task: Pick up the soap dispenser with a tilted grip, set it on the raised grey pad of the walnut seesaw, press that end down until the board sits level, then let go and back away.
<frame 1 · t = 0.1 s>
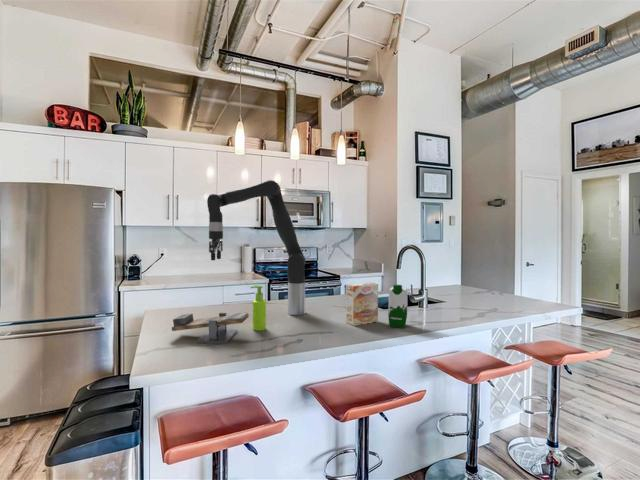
hand: (216, 259, 192), 29 cm above the countertop, fingers open, 8 cm apart
seesaw stand: (218, 337, 148), on the countertop
seesaw board: (210, 318, 148), point 8 cm above the countertop, hinge at 8.0°
milk carton: (397, 325, 168), on the countertop
soap dispenser: (258, 329, 162), on the countertop
coffeecake box: (362, 322, 173), on the countertop
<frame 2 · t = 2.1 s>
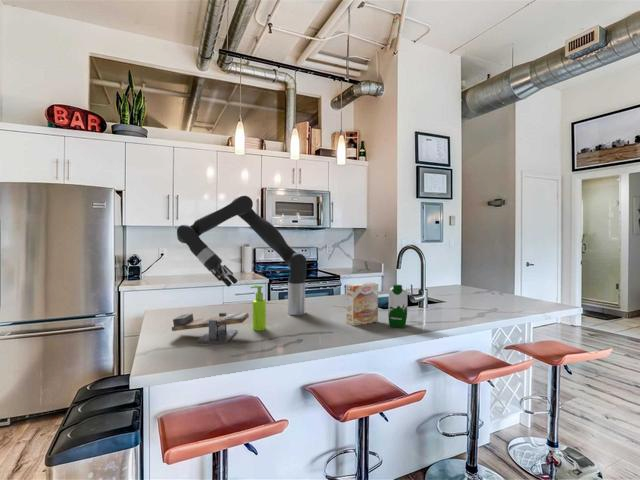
hand: (233, 284, 162), 21 cm above the countertop, fingers open, 8 cm apart
nothing on the countertop moved.
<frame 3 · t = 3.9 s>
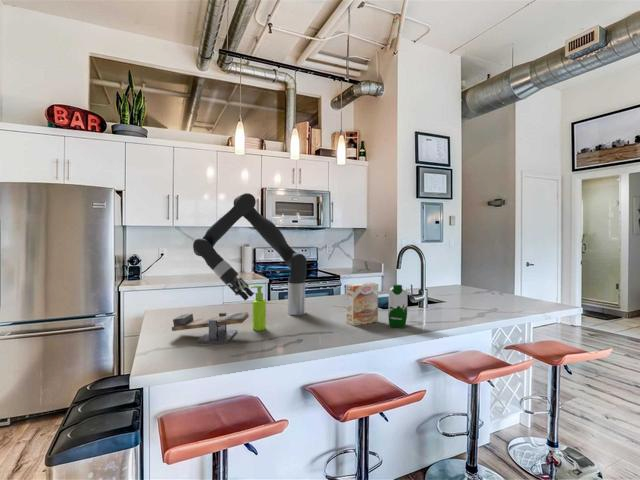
hand: (249, 297, 161), 15 cm above the countertop, fingers open, 8 cm apart
nothing on the countertop moved.
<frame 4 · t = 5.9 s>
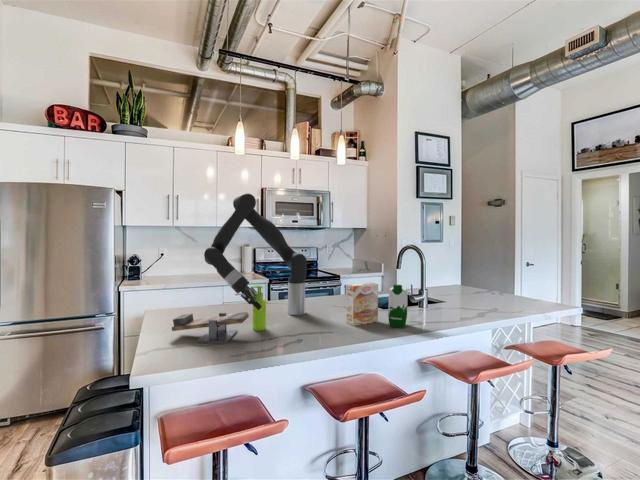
hand: (261, 306, 161), 10 cm above the countertop, fingers closed on soap dispenser, 6 cm apart
soap dispenser: (258, 329, 162), on the countertop, touching gripper
everything else where it was.
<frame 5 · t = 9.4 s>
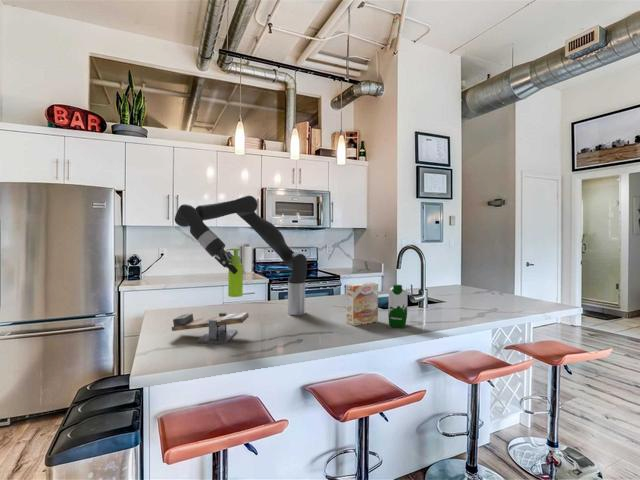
hand: (238, 271, 147), 28 cm above the countertop, fingers closed on soap dispenser, 6 cm apart
soap dispenser: (234, 296, 147), point 18 cm above the countertop, touching gripper
everything else where it was.
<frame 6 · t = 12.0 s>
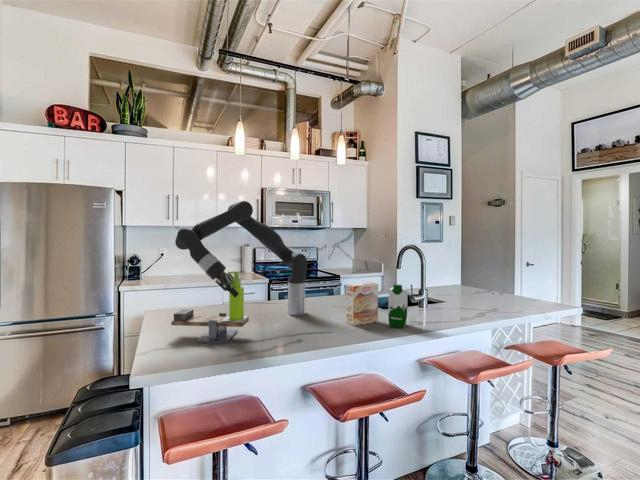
hand: (239, 294, 147), 19 cm above the countertop, fingers closed on soap dispenser, 6 cm apart
seesaw board: (211, 317, 148), point 8 cm above the countertop, hinge at 0.1°, touching soap dispenser
soap dispenser: (235, 318, 148), point 8 cm above the countertop, touching gripper, seesaw board
everything else where it was.
when the fingers open (19 cm above the countertop, at t = 12.9 s): soap dispenser stays where it is, resting on seesaw board.
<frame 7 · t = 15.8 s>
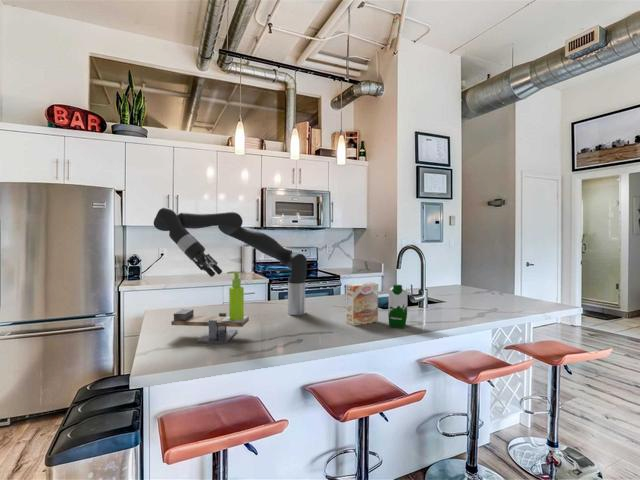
hand: (217, 274, 147), 27 cm above the countertop, fingers open, 8 cm apart
soap dispenser: (235, 318, 148), point 8 cm above the countertop, touching seesaw board
everything else where it was.
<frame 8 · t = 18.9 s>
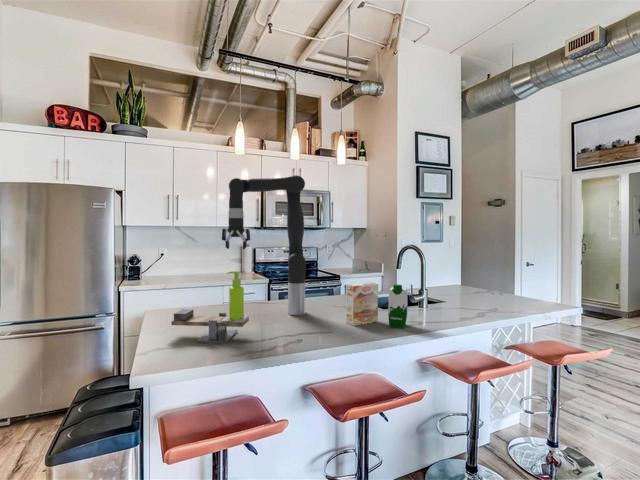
hand: (236, 248, 179), 36 cm above the countertop, fingers open, 8 cm apart
nothing on the countertop moved.
at the end: seesaw board at +0° (first picture: +8°); soap dispenser inside the target area (0.1 cm from its centre), point 8.2 cm above the countertop; soap dispenser tilted 0° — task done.
